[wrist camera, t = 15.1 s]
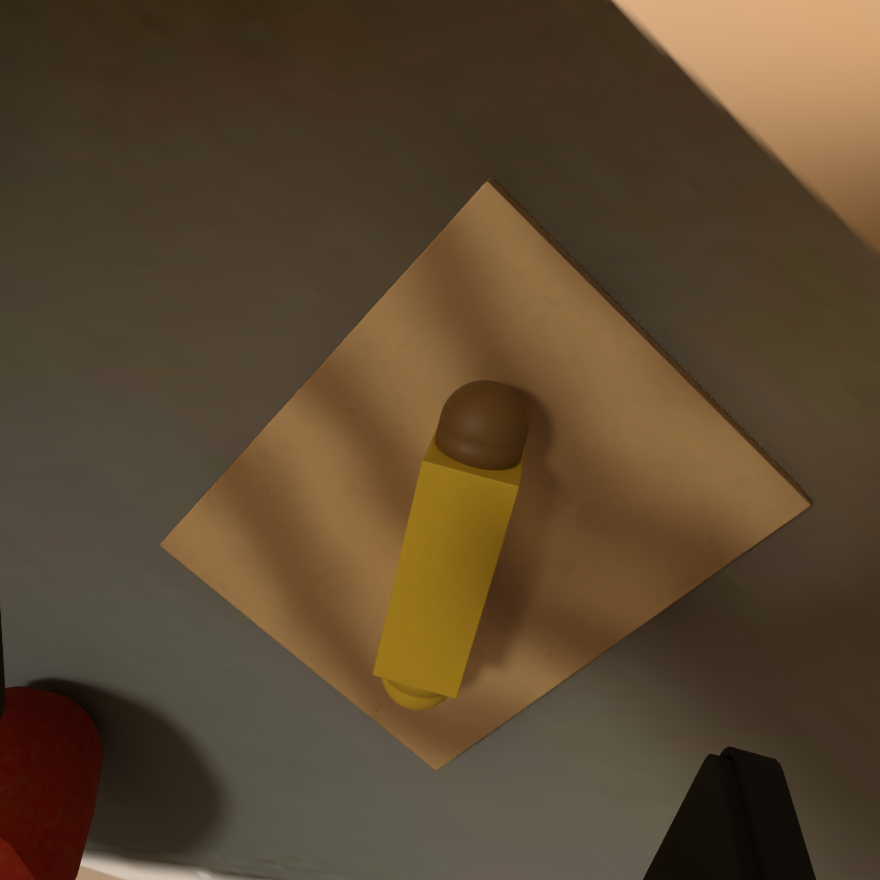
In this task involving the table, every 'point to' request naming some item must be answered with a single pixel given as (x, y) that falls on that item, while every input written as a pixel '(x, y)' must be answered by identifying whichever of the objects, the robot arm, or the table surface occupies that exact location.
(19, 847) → the apple
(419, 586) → the yellow bar
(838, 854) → the table surface
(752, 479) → the board
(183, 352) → the table surface
